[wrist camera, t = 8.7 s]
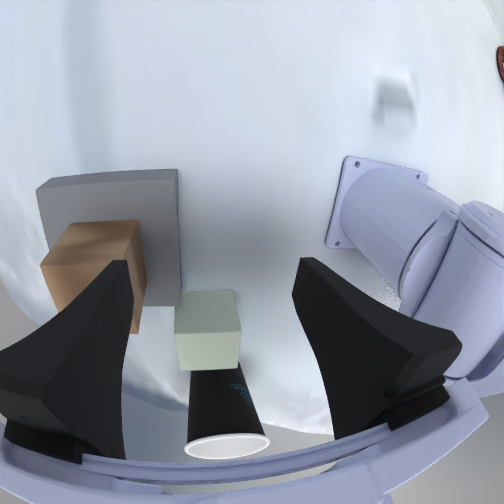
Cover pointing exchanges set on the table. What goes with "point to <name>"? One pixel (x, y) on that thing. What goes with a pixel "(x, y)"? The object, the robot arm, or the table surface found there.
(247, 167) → the table surface
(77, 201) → the grey square slab
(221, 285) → the table surface
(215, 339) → the sage cube
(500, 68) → the supplement bottle
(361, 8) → the table surface
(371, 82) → the table surface
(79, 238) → the walnut cube
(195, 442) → the dixie cup
